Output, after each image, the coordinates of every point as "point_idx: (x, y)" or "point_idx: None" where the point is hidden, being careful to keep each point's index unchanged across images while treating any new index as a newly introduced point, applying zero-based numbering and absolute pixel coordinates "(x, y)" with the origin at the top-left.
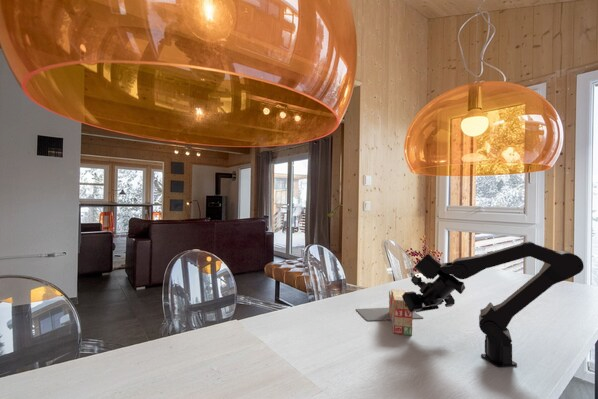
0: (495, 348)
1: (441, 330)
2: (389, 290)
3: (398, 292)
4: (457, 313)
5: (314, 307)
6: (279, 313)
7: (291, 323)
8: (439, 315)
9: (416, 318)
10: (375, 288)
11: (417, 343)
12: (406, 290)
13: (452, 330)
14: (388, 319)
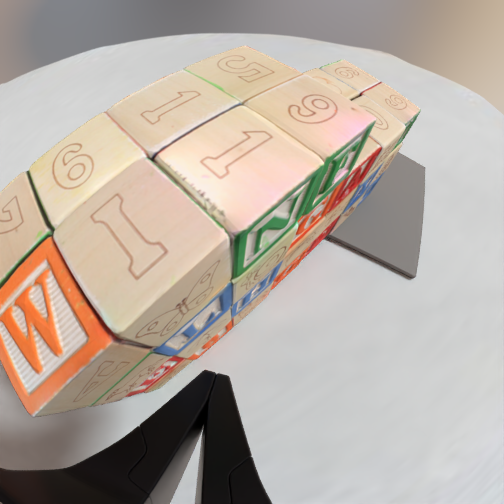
0: None
1: (369, 428)
2: (339, 61)
3: (205, 97)
4: None
5: (134, 52)
6: (53, 67)
7: (13, 109)
8: (483, 292)
9: (383, 262)
10: (412, 67)
11: (105, 447)
12: (366, 114)
13: (409, 444)
14: None
